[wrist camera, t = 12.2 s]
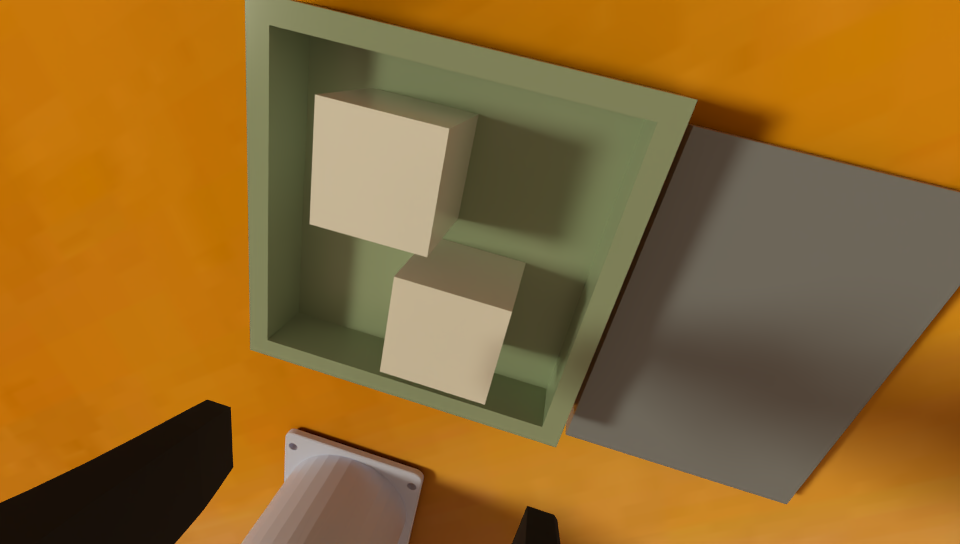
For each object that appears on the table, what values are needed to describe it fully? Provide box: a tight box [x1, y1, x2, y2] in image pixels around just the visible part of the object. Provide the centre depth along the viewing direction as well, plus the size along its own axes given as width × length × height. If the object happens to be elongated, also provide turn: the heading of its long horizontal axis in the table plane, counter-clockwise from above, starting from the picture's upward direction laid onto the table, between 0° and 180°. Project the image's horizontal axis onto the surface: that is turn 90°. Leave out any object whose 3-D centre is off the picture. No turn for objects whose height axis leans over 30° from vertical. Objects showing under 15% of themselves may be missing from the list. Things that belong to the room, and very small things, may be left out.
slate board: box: [566, 123, 960, 504], centre depth 18 cm, size 14×10×1 cm
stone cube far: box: [380, 239, 526, 405], centre depth 17 cm, size 4×4×4 cm
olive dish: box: [245, 0, 697, 447], centre depth 17 cm, size 14×14×3 cm
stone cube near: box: [310, 88, 479, 257], centre depth 15 cm, size 4×4×4 cm
